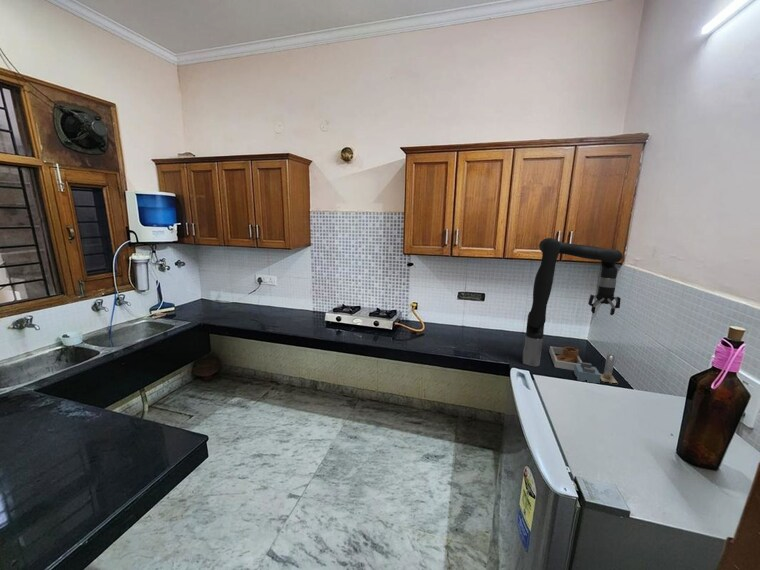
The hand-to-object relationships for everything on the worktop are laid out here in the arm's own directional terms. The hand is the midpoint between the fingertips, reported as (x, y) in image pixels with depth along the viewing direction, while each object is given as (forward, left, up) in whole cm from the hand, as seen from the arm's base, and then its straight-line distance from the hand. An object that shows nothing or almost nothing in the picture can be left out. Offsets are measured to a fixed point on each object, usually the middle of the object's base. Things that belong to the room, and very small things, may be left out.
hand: (602, 314), depth 175 cm
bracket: (-13, +8, -34) cm, 38 cm away
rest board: (+4, -10, -34) cm, 36 cm away
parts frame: (-13, +8, -34) cm, 37 cm away
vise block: (-6, -12, -34) cm, 37 cm away
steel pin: (+4, -10, -33) cm, 35 cm away
